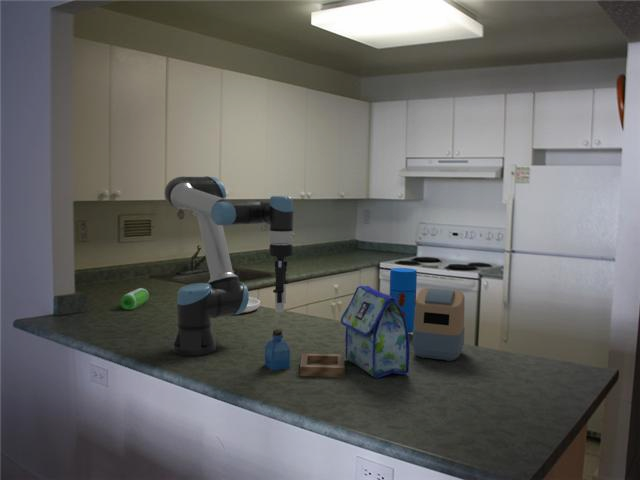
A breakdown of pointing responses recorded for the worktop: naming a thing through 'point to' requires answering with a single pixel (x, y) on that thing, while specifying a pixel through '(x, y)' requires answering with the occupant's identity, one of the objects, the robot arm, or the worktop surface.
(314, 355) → the wooden picture frame
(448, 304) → the alarm clock
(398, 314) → the lunch bag
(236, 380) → the worktop surface
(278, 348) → the perfume bottle
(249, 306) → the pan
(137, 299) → the speaker
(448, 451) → the worktop surface
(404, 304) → the thermos
